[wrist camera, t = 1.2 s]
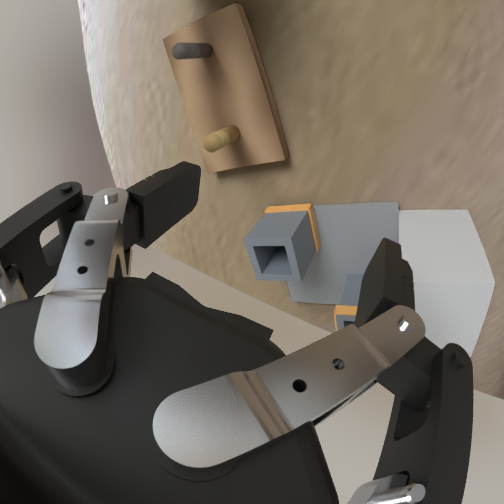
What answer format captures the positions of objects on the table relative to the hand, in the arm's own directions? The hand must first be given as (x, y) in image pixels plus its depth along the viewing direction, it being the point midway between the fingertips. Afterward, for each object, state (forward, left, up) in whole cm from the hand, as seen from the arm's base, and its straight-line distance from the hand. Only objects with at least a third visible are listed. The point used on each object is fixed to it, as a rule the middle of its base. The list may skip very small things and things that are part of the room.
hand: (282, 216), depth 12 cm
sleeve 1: (+8, +10, -18) cm, 22 cm away
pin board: (+12, -7, -19) cm, 24 cm away
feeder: (-1, +15, -19) cm, 24 cm away
